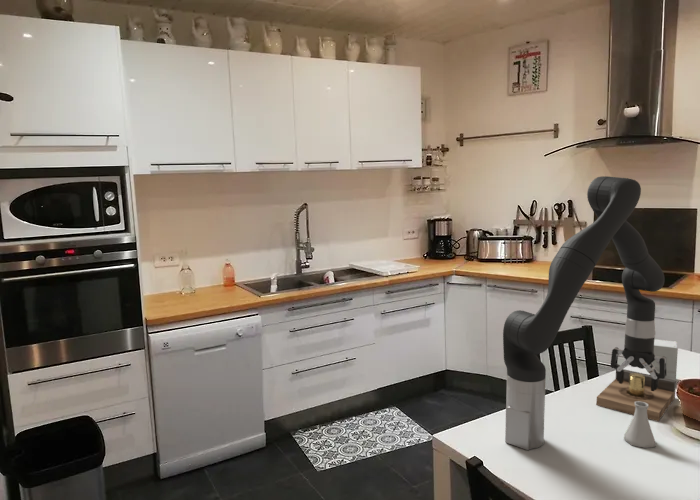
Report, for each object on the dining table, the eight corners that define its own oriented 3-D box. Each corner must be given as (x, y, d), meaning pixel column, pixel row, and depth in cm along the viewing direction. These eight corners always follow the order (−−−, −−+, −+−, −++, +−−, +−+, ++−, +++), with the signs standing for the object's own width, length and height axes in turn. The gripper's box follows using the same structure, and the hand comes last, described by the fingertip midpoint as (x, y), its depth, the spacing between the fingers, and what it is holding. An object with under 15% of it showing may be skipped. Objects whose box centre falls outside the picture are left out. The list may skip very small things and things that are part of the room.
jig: (658, 421, 139) (659, 402, 138) (596, 404, 150) (597, 387, 149) (674, 397, 153) (675, 380, 153) (617, 384, 164) (617, 368, 163)
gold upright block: (641, 405, 149) (642, 379, 148) (626, 401, 151) (627, 375, 150) (645, 401, 152) (646, 375, 151) (630, 397, 154) (631, 372, 153)
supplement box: (675, 378, 168) (678, 341, 166) (675, 386, 162) (678, 347, 160) (649, 374, 172) (651, 338, 170) (648, 382, 166) (650, 344, 164)
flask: (660, 450, 124) (663, 411, 123) (628, 447, 126) (630, 409, 125) (649, 435, 131) (652, 398, 130) (619, 433, 133) (621, 396, 132)
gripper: (609, 331, 151) (607, 384, 153) (664, 341, 141) (661, 397, 143) (617, 326, 156) (614, 377, 158) (670, 335, 147) (667, 388, 149)
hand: (636, 386), depth 151 cm, fingers open, 8 cm apart
